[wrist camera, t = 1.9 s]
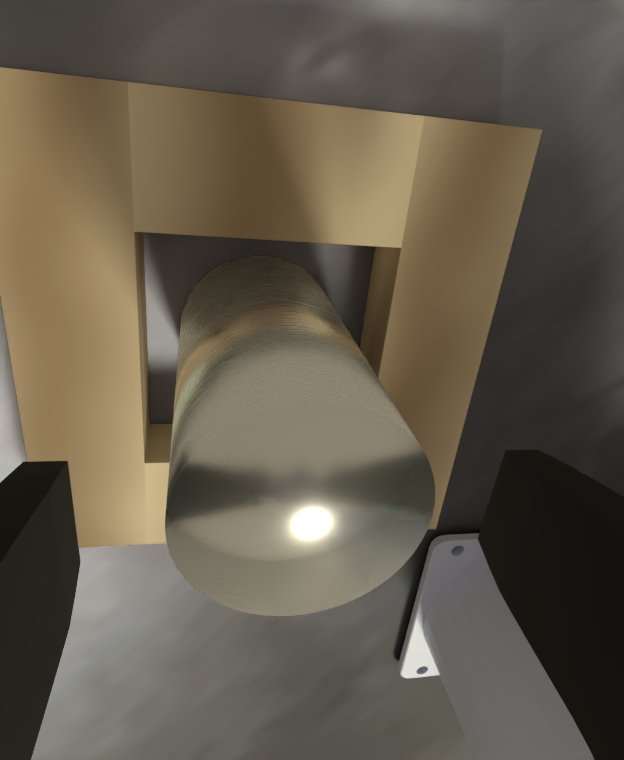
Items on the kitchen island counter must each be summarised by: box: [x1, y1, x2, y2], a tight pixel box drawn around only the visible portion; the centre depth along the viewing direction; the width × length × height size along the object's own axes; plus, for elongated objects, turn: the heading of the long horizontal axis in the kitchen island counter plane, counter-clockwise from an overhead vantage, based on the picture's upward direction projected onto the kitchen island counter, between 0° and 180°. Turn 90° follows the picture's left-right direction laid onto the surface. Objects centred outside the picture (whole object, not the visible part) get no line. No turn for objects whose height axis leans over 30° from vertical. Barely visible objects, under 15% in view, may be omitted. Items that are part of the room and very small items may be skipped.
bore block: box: [0, 67, 542, 548], centre depth 15 cm, size 12×12×2 cm
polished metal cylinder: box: [165, 256, 435, 616], centre depth 12 cm, size 4×4×8 cm
